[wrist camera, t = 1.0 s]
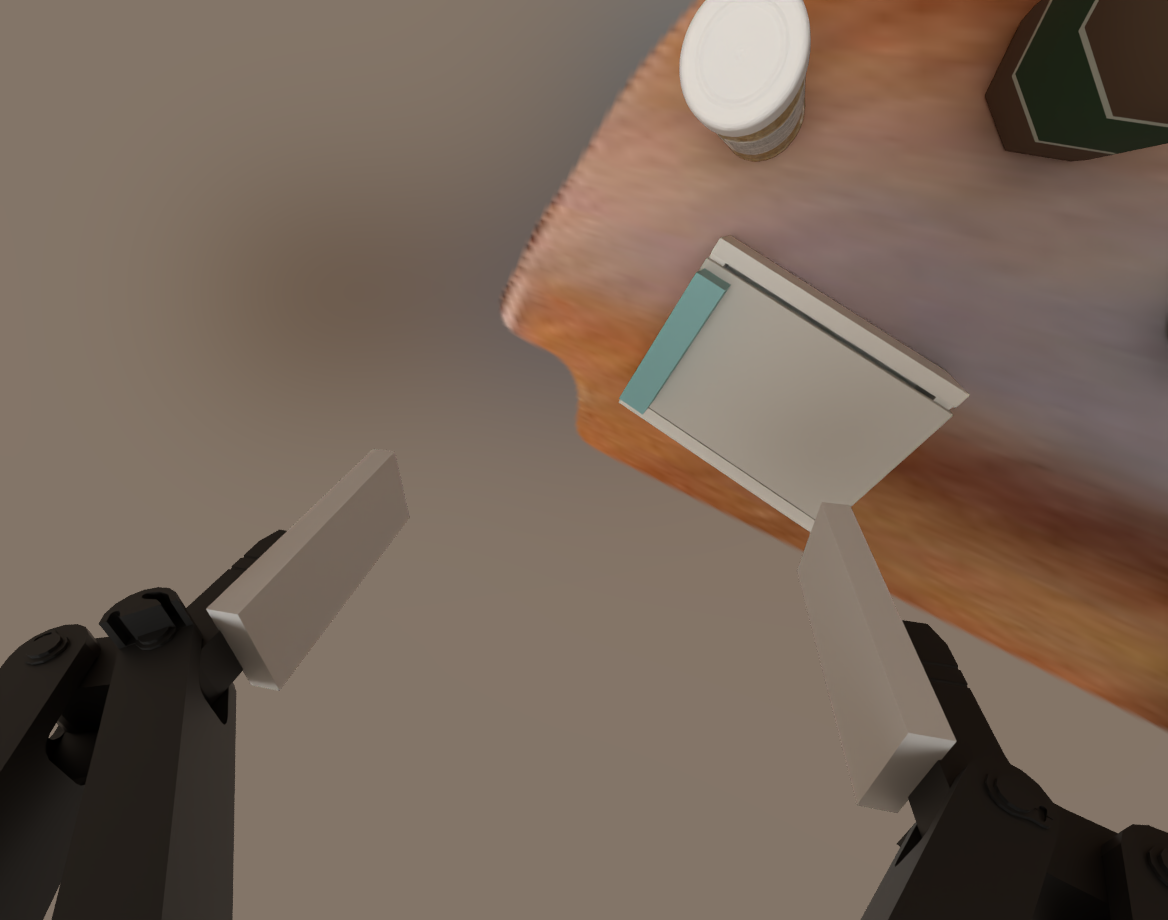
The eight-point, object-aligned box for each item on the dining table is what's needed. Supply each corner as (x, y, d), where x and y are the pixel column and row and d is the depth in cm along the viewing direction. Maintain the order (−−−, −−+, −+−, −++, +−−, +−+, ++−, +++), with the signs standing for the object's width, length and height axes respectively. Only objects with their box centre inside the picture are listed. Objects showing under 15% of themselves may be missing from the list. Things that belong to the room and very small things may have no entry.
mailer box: (947, 371, 30) (969, 395, 26) (812, 500, 37) (814, 535, 33) (730, 235, 32) (720, 237, 28) (638, 382, 38) (618, 402, 34)
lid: (949, 410, 27) (967, 432, 24) (826, 521, 32) (829, 550, 30) (708, 257, 28) (698, 261, 26) (628, 387, 34) (612, 402, 31)
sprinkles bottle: (725, 78, 28) (676, -14, 17) (811, 61, 27) (819, -52, 16) (722, 168, 30) (676, 138, 19) (802, 158, 29) (803, 119, 17)
